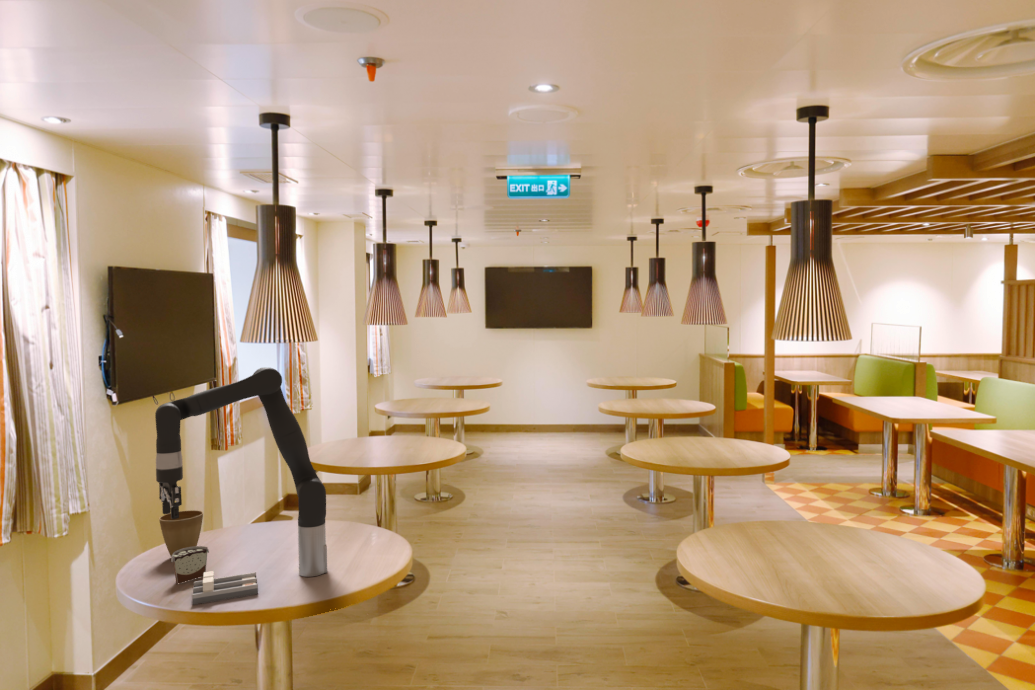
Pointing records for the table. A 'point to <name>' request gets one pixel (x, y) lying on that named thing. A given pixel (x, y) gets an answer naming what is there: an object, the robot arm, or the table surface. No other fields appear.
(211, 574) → the far tab
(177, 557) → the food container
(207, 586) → the near tab
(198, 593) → the switch panel
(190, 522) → the plant pot
